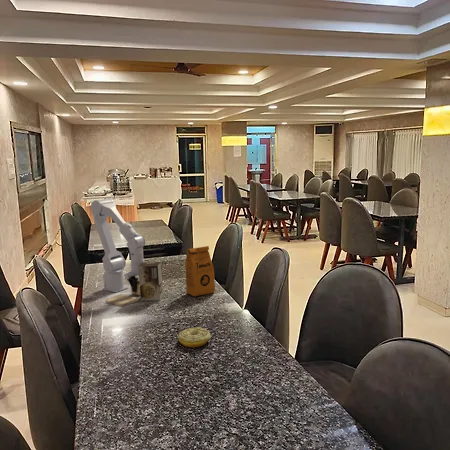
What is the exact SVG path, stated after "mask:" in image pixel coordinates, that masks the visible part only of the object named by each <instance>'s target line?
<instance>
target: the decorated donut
mask: <svg viewBox="0 0 450 450" xmlns="http://www.w3.org/2000/svg"><path fill="white" fill-rule="evenodd" d="M210 333H211V332H209V331H208V330H207V329H205V328H204V327H200V326H199V327H188V328H186V329H184V330H181V331H180V332H179V333H178V341H179V343H180V344H182V345H183V347H186V348H187V347H188V348H197V347H198V348H199V347H202V346H204V345H206V344H207V343H208V341H209V340H210V339H211V338H212V335H211V334H210Z"/></svg>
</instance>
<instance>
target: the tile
mask: <svg viewBox="0 0 450 450" xmlns="http://www.w3.org/2000/svg"><path fill="white" fill-rule="evenodd" d="M135 302H139V298H138V297H135V296H130V295H125V294H122V293H120V294H119V295H118V294H117V295H116V296H113V297H111V298H107V299H106V300H105V303H107V304H110V305H115V306H117V307H118V306H120V307H123V308H124V307H126V306H128V305H131V304H133V303H135Z"/></svg>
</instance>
